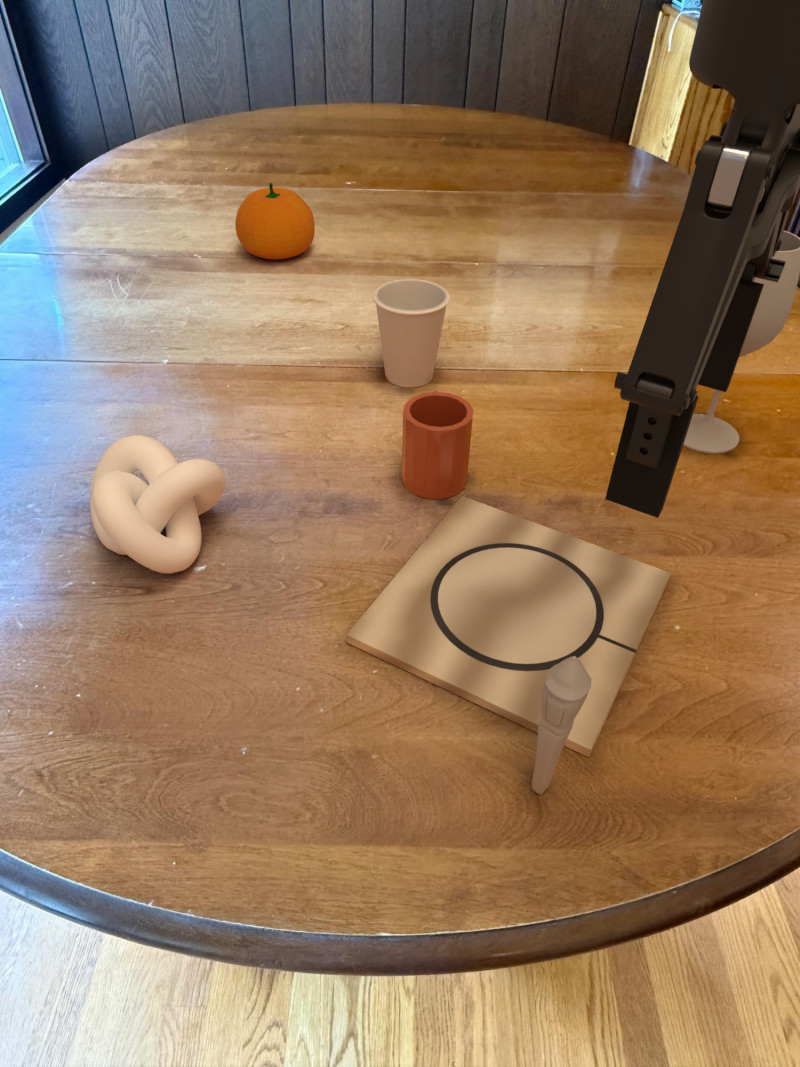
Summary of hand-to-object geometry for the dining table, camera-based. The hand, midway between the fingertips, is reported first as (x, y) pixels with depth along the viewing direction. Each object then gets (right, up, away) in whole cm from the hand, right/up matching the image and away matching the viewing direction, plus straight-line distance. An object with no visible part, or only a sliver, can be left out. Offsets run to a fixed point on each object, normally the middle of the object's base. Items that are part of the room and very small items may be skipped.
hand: (672, 438), depth 43 cm
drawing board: (-6, -12, +21) cm, 24 cm away
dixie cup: (-14, +13, +48) cm, 52 cm away
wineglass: (+17, +5, +40) cm, 44 cm away
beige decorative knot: (-36, -6, +27) cm, 45 cm away
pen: (-6, -23, +9) cm, 25 cm away
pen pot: (-12, 0, +34) cm, 36 cm away
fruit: (-34, +37, +75) cm, 90 cm away
